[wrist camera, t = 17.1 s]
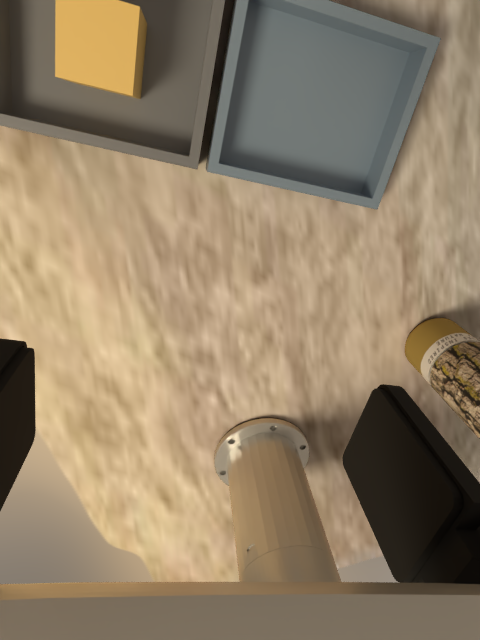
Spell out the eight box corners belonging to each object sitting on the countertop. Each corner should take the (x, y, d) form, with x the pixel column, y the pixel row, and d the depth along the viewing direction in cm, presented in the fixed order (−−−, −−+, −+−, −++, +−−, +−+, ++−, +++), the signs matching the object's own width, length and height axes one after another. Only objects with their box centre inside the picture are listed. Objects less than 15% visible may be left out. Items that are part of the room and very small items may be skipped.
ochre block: (140, 99, 31) (132, 95, 26) (74, 82, 30) (55, 76, 25) (147, 24, 29) (139, 6, 24) (76, 3, 28) (55, -19, 23)
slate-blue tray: (363, 203, 37) (377, 209, 35) (205, 167, 34) (207, 171, 31) (419, 45, 32) (440, 38, 29) (237, -16, 29) (241, -30, 26)
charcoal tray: (196, 165, 34) (197, 169, 31) (3, 122, 31) (-14, 122, 28) (226, -19, 28) (230, -33, 26) (-5, -95, 25) (-28, -121, 23)
